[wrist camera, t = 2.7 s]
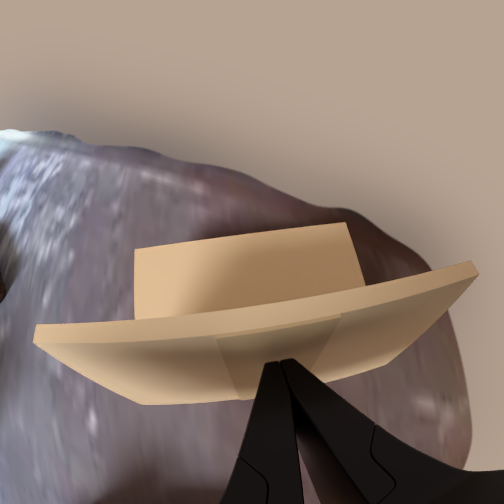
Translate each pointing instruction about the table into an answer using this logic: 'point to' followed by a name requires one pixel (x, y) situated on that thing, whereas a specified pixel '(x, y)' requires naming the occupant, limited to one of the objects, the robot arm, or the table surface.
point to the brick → (2, 289)
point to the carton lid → (255, 340)
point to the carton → (244, 270)
